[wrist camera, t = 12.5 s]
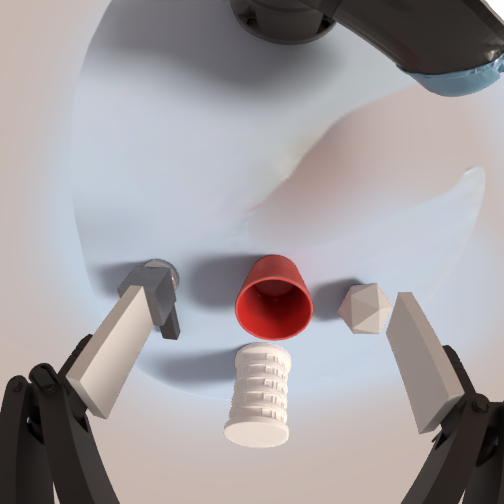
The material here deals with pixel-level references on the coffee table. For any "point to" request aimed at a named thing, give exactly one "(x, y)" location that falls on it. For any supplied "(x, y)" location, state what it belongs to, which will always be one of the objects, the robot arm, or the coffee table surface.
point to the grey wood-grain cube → (153, 290)
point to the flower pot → (274, 300)
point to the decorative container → (259, 397)
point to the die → (365, 309)
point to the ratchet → (171, 324)
